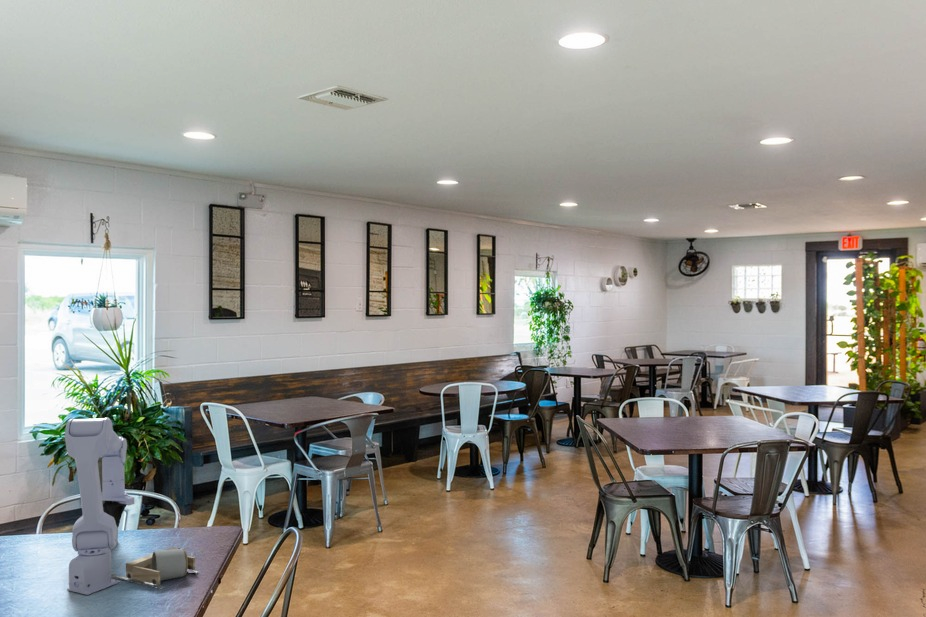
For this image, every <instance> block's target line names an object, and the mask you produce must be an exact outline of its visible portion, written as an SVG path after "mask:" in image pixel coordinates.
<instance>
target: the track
mask: <svg viewBox="0 0 926 617" xmlns="http://www.w3.org/2000/svg"><path fill="white" fill-rule="evenodd" d="M193 571H194V573H197V572H199V571H198V570H193ZM111 579H114V580H118V581H125V582H127V583H132V582H133V584H137V585H141V584H142V586H145V585H147V586H146V587H150V586H153V587H152V588H154V587H157V588H156V589H158V588H162V589H164V588H165V585H161V584H159V585H158V584H153V583H149V582H145V581H140V580H136V579H132V578H130V579H129V578H127V577H126V576H121V575H118V574H117V575H116V574H112V573H111ZM163 587H164V588H163Z"/></svg>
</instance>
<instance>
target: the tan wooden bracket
mask: <svg viewBox="0 0 926 617" xmlns="http://www.w3.org/2000/svg"><path fill="white" fill-rule="evenodd" d="M172 549H181V547H178V546H177V547H176V546H170V547H167V548H164V549H163V550H172ZM152 555H153V553H151V554H148V555H145V556H142V557H140V558H137V559H134V560H131V561H129V562H126V563H125V577H126V578H129V579H135V580H139V581H143V582H148V583H152V584H157V585H161V581H160V571H156V570H152ZM187 558H188V569H189V570H193V571H196V557H194V556H189V555H187Z"/></svg>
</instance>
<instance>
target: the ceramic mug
mask: <svg viewBox="0 0 926 617" xmlns="http://www.w3.org/2000/svg"><path fill="white" fill-rule="evenodd" d="M152 554H153V555H152V570H156V571H160V582H161V581H167V580H171V579H172V578H173V579H177V578H181V577H184V576H185V575H186V574H187V569H188V558H187V556H188V553H187V550H185V549H184V548H180V549H172V550H164V549H162V550H161V549H160V550H154V551H153V552H152Z"/></svg>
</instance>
